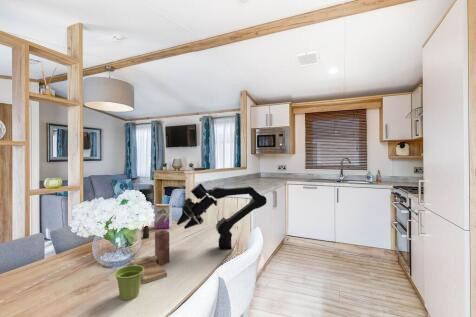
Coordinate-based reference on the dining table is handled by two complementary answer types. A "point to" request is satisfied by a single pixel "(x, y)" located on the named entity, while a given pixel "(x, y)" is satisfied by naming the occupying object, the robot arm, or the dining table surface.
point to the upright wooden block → (159, 249)
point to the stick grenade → (149, 197)
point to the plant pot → (129, 281)
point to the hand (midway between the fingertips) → (180, 226)
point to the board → (150, 270)
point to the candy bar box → (163, 215)
